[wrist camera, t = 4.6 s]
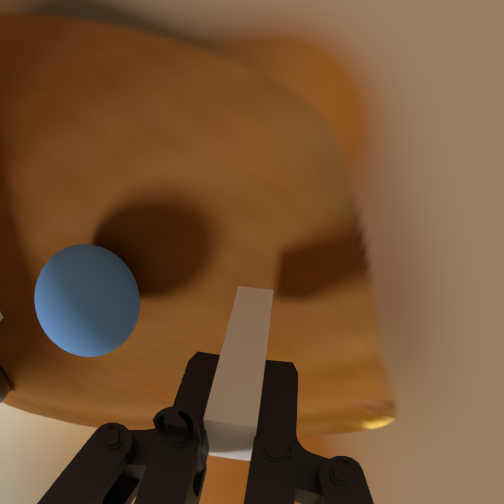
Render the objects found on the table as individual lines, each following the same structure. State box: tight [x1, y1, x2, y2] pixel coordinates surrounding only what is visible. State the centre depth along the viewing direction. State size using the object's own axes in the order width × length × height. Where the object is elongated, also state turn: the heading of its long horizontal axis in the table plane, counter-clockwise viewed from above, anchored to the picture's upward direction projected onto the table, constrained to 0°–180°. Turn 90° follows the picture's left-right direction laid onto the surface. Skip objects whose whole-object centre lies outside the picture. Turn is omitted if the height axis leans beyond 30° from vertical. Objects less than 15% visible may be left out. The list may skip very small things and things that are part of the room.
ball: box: [35, 244, 140, 357], centre depth 14 cm, size 6×6×6 cm
